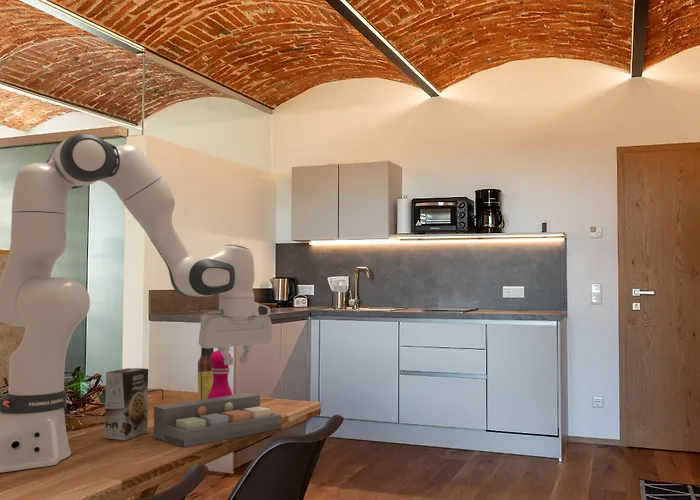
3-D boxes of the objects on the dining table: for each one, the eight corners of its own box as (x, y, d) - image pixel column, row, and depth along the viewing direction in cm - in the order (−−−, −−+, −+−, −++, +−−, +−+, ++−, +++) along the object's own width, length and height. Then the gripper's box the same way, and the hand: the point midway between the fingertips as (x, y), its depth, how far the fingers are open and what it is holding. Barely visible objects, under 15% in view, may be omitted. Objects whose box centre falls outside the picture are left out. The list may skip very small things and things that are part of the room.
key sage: (187, 431, 162) (187, 422, 162) (175, 428, 166) (176, 419, 166) (205, 428, 166) (205, 419, 166) (194, 425, 169) (194, 416, 169)
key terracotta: (233, 423, 171) (233, 415, 172) (221, 420, 175) (221, 412, 175) (249, 420, 175) (249, 412, 175) (238, 417, 178) (238, 409, 179)
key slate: (210, 427, 167) (211, 418, 167) (199, 424, 170) (199, 415, 171) (228, 424, 170) (228, 416, 170) (216, 421, 174) (216, 413, 174)
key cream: (254, 419, 176) (254, 411, 176) (243, 416, 180) (243, 408, 180) (270, 416, 179) (270, 409, 180) (258, 414, 183) (258, 406, 183)
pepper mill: (227, 419, 191) (228, 346, 192) (202, 418, 192) (203, 345, 193) (237, 414, 198) (237, 343, 199) (213, 413, 200) (213, 343, 200)
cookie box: (126, 440, 166) (127, 372, 167) (103, 438, 168) (104, 371, 169) (148, 432, 175) (149, 368, 175) (127, 430, 177) (127, 367, 177)
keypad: (184, 447, 159) (184, 414, 160) (153, 437, 169) (154, 406, 170) (281, 428, 179) (281, 399, 180) (248, 420, 189) (249, 392, 190)
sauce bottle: (223, 404, 213) (223, 339, 214) (208, 407, 208) (209, 341, 209) (207, 402, 217) (208, 338, 217) (192, 405, 211) (193, 339, 212)
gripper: (208, 310, 167) (207, 369, 166) (275, 308, 181) (275, 361, 180) (194, 310, 171) (193, 366, 170) (260, 307, 185) (260, 359, 185)
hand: (236, 364), depth 175 cm, fingers open, 3 cm apart
